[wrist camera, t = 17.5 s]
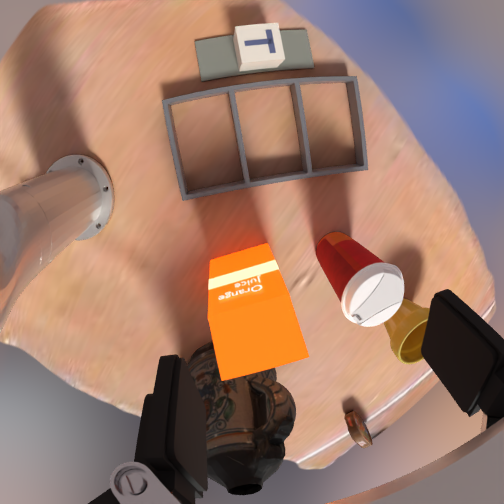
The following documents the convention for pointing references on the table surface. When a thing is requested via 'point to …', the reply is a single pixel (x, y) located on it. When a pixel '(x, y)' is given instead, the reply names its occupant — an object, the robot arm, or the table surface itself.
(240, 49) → the letter cube
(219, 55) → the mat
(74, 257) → the table surface
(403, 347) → the plant pot
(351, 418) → the tin
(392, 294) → the coffee cup
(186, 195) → the sorting box
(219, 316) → the orange juice
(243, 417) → the dark ornate vase
